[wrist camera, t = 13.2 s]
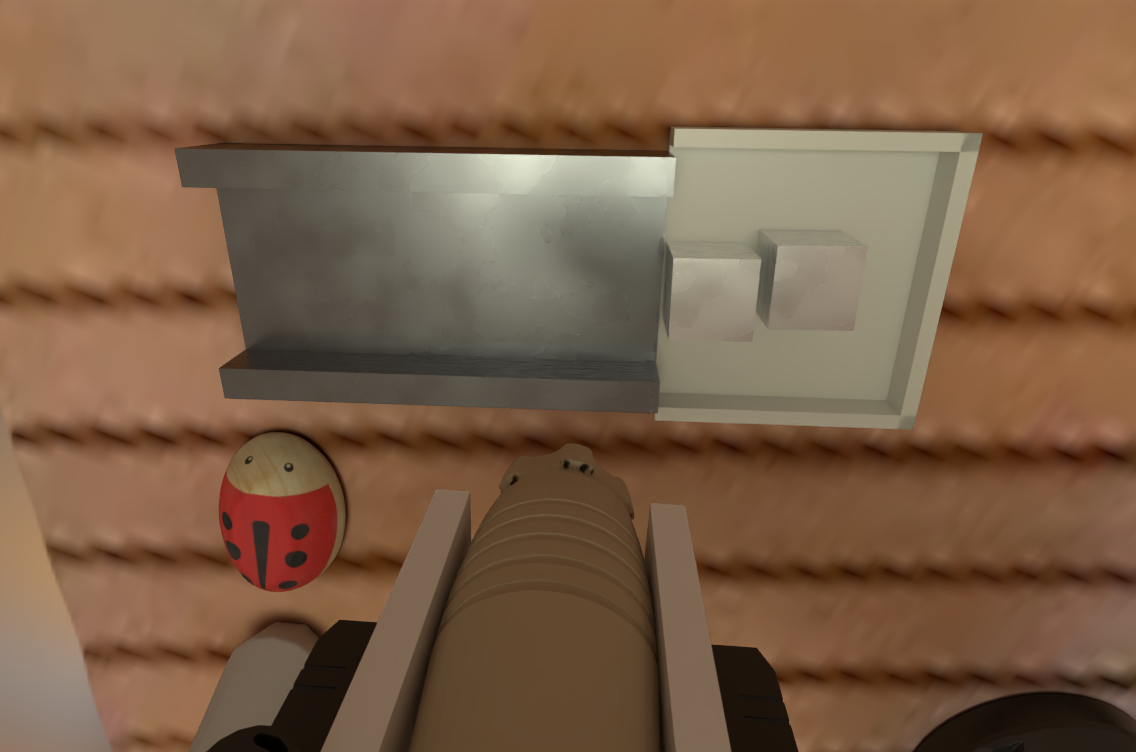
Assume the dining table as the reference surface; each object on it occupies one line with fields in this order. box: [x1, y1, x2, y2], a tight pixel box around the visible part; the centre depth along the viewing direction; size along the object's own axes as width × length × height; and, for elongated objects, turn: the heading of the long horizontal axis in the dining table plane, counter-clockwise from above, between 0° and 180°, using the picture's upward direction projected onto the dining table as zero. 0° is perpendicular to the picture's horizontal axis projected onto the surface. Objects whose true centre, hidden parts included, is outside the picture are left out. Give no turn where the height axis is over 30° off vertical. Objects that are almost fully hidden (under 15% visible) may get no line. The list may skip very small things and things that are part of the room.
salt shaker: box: [189, 621, 319, 752], centre depth 36 cm, size 6×6×13 cm
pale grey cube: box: [756, 229, 868, 331], centre depth 29 cm, size 4×4×4 cm
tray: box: [654, 126, 983, 430], centre depth 30 cm, size 12×13×2 cm
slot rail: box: [175, 143, 676, 413], centre depth 30 cm, size 20×11×4 cm, turn 89°
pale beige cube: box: [662, 241, 762, 342], centre depth 29 cm, size 4×4×4 cm
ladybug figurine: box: [219, 432, 346, 592], centre depth 36 cm, size 7×10×4 cm
